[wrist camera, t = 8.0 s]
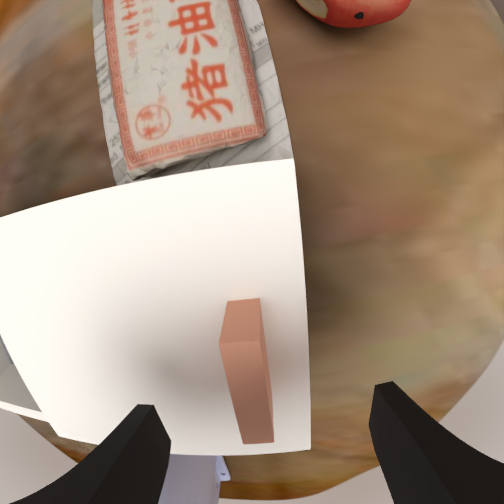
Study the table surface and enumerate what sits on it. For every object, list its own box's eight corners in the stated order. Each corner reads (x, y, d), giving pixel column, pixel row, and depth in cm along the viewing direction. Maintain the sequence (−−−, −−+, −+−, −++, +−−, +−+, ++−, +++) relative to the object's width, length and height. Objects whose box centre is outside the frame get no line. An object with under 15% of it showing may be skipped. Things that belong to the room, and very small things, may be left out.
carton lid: (309, 441, 15) (316, 489, 12) (61, 430, 16) (43, 463, 12) (291, 158, 10) (306, 159, 7) (-28, 226, 11) (-70, 244, 8)
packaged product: (67, -54, 8) (230, -108, 7) (98, -26, 13) (235, -67, 12) (93, 222, 13) (308, 174, 12) (131, 205, 18) (294, 169, 17)
